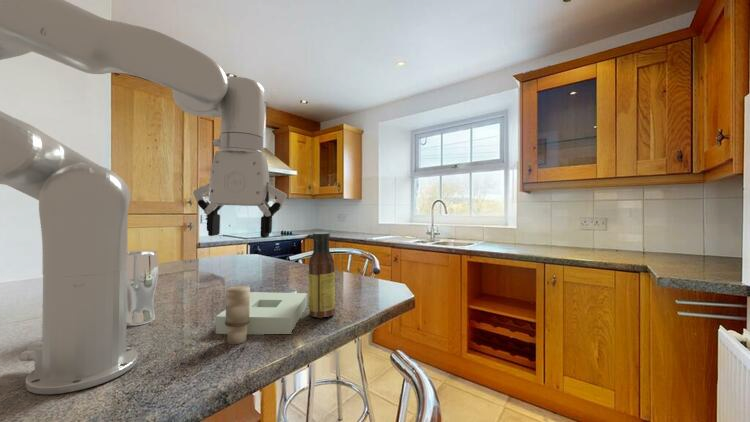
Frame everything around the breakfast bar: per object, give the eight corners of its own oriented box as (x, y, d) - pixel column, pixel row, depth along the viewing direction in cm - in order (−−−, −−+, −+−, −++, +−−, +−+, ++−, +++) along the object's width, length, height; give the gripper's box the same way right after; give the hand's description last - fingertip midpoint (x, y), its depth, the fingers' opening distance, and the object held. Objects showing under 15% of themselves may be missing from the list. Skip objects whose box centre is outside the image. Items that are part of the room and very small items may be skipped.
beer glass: (111, 323, 68) (112, 253, 68) (146, 313, 74) (148, 249, 74) (128, 329, 65) (129, 256, 65) (164, 319, 71) (165, 252, 71)
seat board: (215, 333, 64) (215, 316, 64) (248, 305, 82) (248, 292, 82) (290, 334, 64) (290, 317, 64) (307, 306, 82) (307, 293, 82)
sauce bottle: (337, 311, 79) (339, 232, 79) (331, 320, 73) (333, 234, 73) (311, 310, 80) (313, 231, 80) (303, 318, 74) (305, 233, 73)
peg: (220, 345, 59) (221, 291, 59) (230, 335, 63) (231, 285, 63) (244, 345, 59) (245, 292, 59) (252, 336, 63) (253, 286, 63)
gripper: (185, 140, 57) (182, 236, 57) (282, 144, 57) (279, 239, 57) (206, 148, 64) (203, 233, 64) (292, 151, 65) (289, 235, 65)
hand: (239, 236), depth 61 cm, fingers open, 9 cm apart
